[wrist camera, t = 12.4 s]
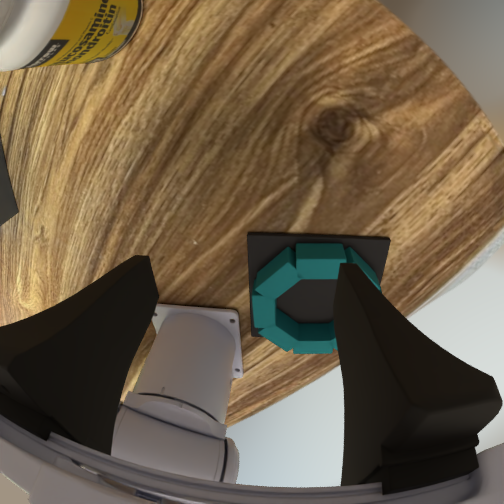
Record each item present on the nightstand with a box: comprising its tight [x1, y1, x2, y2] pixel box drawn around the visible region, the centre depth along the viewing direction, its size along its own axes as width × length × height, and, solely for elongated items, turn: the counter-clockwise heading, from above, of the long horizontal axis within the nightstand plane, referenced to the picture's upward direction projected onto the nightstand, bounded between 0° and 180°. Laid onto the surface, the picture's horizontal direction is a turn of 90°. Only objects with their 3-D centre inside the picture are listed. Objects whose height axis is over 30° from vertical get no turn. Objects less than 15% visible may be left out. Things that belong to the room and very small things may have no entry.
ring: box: [252, 243, 382, 354], centre depth 22 cm, size 9×9×2 cm
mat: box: [247, 233, 391, 337], centre depth 23 cm, size 10×10×1 cm
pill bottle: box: [0, 0, 143, 71], centre depth 8 cm, size 6×6×12 cm
